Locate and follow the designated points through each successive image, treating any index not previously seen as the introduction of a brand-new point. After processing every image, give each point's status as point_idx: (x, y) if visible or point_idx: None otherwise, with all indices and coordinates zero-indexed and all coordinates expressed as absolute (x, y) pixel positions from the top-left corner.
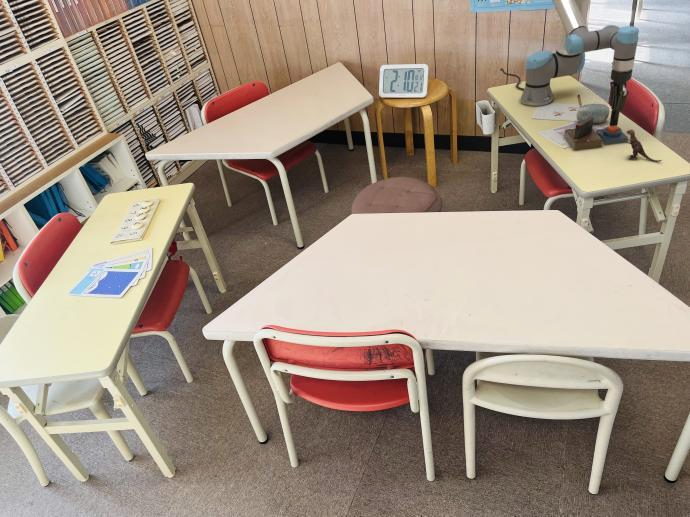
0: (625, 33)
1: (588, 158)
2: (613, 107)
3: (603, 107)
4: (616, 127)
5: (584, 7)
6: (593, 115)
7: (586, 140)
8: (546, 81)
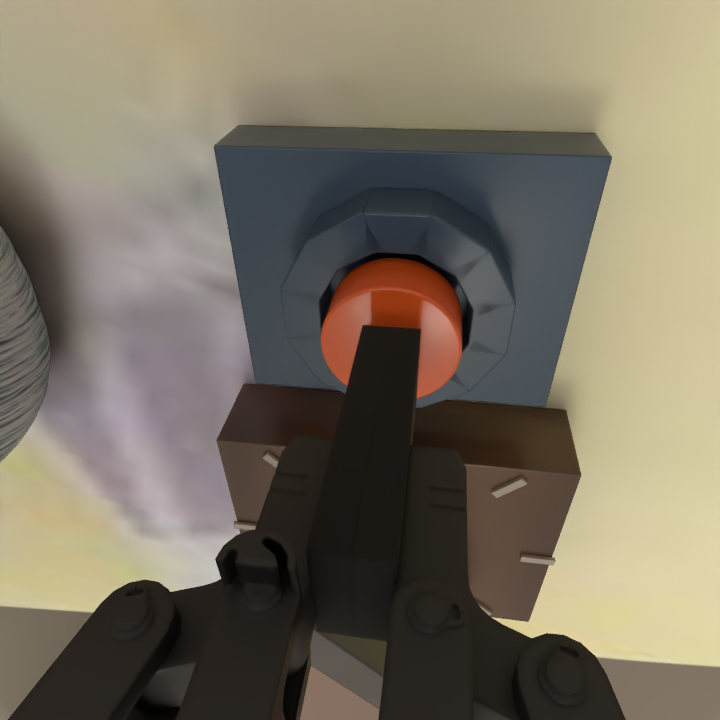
0: None
1: (697, 540)
2: (303, 676)
3: None
4: (432, 322)
5: None
6: None
7: (519, 562)
8: None
